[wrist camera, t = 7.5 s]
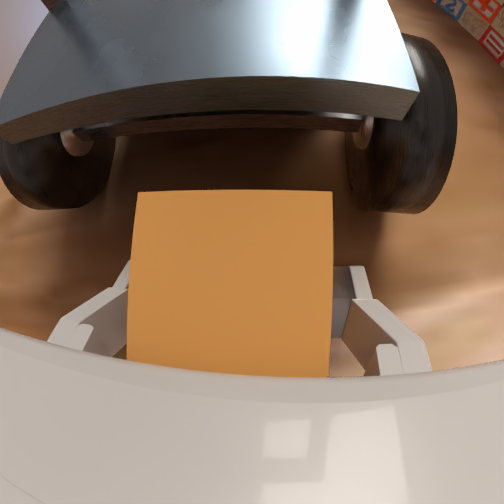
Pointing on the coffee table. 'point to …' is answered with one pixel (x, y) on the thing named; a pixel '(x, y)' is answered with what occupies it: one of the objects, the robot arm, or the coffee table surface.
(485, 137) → the coffee table surface
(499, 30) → the stack of blocks
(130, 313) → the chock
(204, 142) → the coffee table surface
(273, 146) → the coffee table surface
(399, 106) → the trolley
